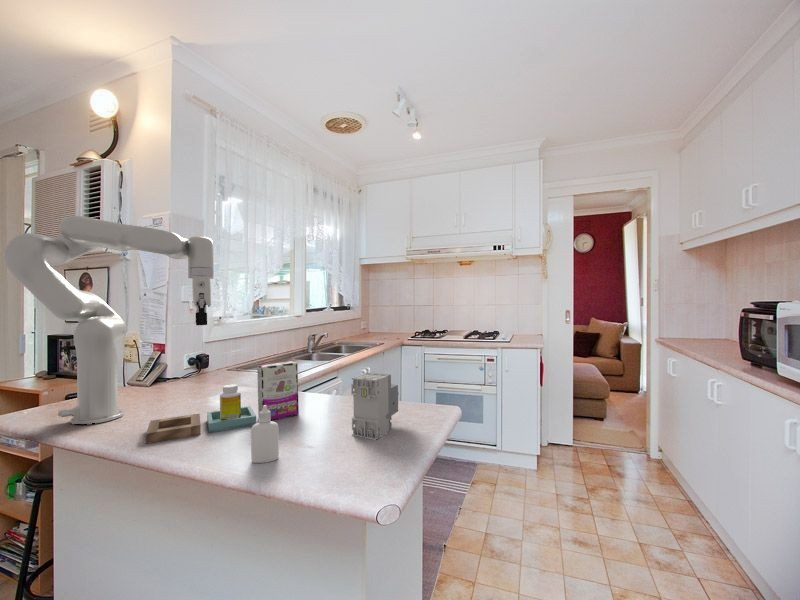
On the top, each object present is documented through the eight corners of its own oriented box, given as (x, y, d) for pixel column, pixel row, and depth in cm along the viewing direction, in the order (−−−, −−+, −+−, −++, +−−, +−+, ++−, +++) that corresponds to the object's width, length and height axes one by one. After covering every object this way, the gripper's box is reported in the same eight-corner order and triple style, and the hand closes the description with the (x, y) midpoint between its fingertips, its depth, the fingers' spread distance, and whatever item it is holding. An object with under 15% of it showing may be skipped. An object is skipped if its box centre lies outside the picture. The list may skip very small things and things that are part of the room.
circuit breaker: (400, 422, 103) (400, 370, 103) (377, 440, 90) (376, 380, 90) (378, 419, 106) (377, 368, 106) (352, 435, 93) (351, 378, 93)
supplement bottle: (243, 420, 105) (243, 385, 105) (222, 425, 101) (222, 388, 101) (237, 416, 109) (237, 382, 109) (217, 420, 105) (217, 385, 106)
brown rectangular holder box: (145, 443, 90) (145, 433, 90) (150, 429, 100) (150, 420, 100) (200, 434, 96) (200, 424, 96) (199, 421, 106) (199, 413, 106)
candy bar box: (292, 411, 115) (292, 360, 115) (299, 415, 111) (298, 362, 112) (257, 418, 108) (256, 364, 108) (262, 423, 104) (261, 366, 105)
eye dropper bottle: (260, 454, 82) (259, 402, 82) (282, 456, 81) (281, 403, 81) (247, 462, 78) (247, 407, 78) (270, 465, 77) (269, 409, 77)
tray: (209, 432, 97) (209, 423, 97) (207, 420, 107) (207, 412, 107) (256, 424, 103) (256, 416, 103) (250, 413, 113) (250, 406, 113)
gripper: (214, 272, 115) (215, 325, 115) (212, 276, 130) (212, 323, 130) (187, 271, 111) (188, 326, 111) (188, 275, 126) (188, 323, 126)
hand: (201, 324), depth 121 cm, fingers open, 9 cm apart
